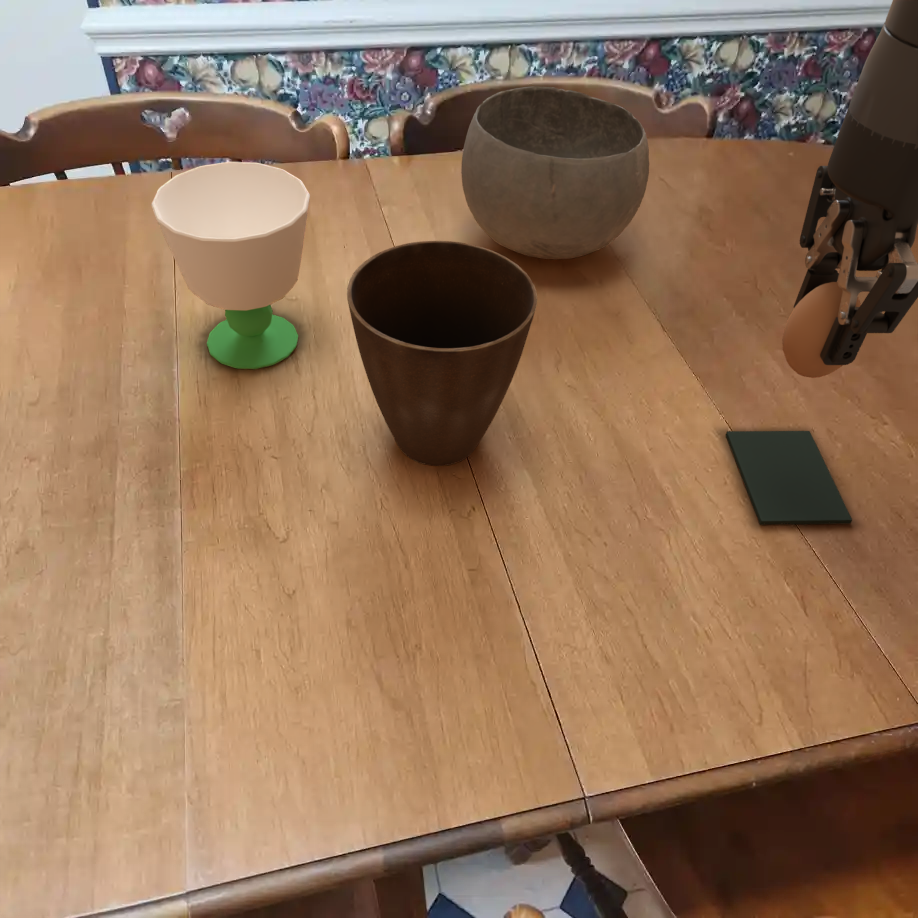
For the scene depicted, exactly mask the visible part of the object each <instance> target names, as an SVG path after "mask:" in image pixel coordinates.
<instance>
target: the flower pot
mask: <svg viewBox="0 0 918 918" xmlns="http://www.w3.org/2000/svg"><path fill="white" fill-rule="evenodd" d="M346 299H347V305H348V309H349V314H350V318H351V322H352V327H353V332H354V336H355V340H356V344H357V347H358V352H359V355H360V358H361V362H362V365H363V369H364V372H365V375H366V379H367V380H368V383H369V386H370V388H371V391H372V394H373V396H374V399H375V401H376V404H377V406H378V408H379V411H380V414H381V416H382V418H383V419H384V422H385V424H386V425H387V428H388V430H389V431H390V433H391V435H392V437H393V439H394V441H395V443H396V445H397V446H398V448H399V449H400V451H401V452H402V453H403V454H404V455H405V456H406V457H408V458H409V459H411V460H413V461H415V462H417V463H420V464H423V465H427V466H432V467H433V466H435V467H442V466H443V467H444V466H450V465H453V464H457V463H459V462H462V461H464V460H465V459H466V458H468V457H469V456H471V454H473V452H474V451H475V449H476V448H477V447H478V445H479V443H480V442H481V440H482V439H483V437H484V436H485V434H486V433H487V431H488V429H489V428H490V426H491V424H492V422H493V421H494V418H495V416H496V415H497V413H498V411H499V409H500V407H501V405H502V403H503V401H504V399H505V397H506V394H507V392H508V390H509V388H510V385H511V383H512V381H513V378H514V376H515V374H516V371H517V368H518V366H519V364H520V361H521V357H522V355H523V352H524V349H525V346H526V343H527V339H528V336H529V333H530V329H531V326H532V323H533V319H534V316H535V312H536V309H537V306H538V305H537V304H538V294H537V290H536V287H535V284H534V281H532V278H531V277H530V276H529V275H528V273H527V272H526V271H525V270H524V268H522V267H521V266H519V265H518V264H517V263H516V262H514V261H513V260H511V259H510V258H508V257H506V256H505V255H503V254H501V253H498V252H496V251H494V250H492V249H489V248H485V247H483V246H479V245H475V244H471V243H466V242H461V241H452V240H451V241H450V240H423V241H413V242H407V243H403V244H399V245H395V246H392V247H389V248H387V249H384V250H382V251H379V252H377V253H375V254H374V255H371V256H370V257H369V258H368V259H366V260H364V261H363V262H362V263H361V264H360V265H359V266H357V268H356V269H355V270H354V271H353V273H352V274H351V276H350V279H349V281H348V284H347V288H346Z"/></svg>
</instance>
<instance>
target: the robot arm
mask: <svg viewBox="0 0 918 918" xmlns="http://www.w3.org/2000/svg"><path fill="white" fill-rule="evenodd" d="M811 189H812V190H811V193H810V197H809V201H808V205H807V209H806V212H805V217H804V221H803V225H802V229H801V233H800V236H799V245H800V248H801V249H807V253H806V255H805V258H804V265H805V268H806V269H807V270H806V273H805V276H804V278H803V280H802V284H801V286H800V289H799V291H798V294H797V296H796V299H795V302H794V304H793V309H794V308H795V306H796V305H797V304H798V303H799V302H800V301H801V300H802V299H803V298H804V297H805V296H806V295H807V294H808V293H809V292H811V291H812V290H813V289H815V288H816V287H818V286H820V285H823V284H826V283H830V282H837V283H838V286H839V287H840V288H842V290H843V292H842V297H841V302H840V307H839V312H838V317H836V319H835V321H834V323H833V326H832V328H831V330H830V333H829V335H828V337H827V340H826V342H825V344H824V347H823V349H822V351H821V354H820V357H821V359H822V361H823V363H824V364H825V365H842V366H847V365H850V364H852V363H853V362H854V361H855V360H856V358H857V357H858V353H859V352H860V350H861V347H862V346H863V343H864V341H865V339H866V337H867V334H892V333H893V332H894V331H895V330H896V329H897V327H898V326H899V325H900V323H901V322H902V320H903V319H904V317H905V316H906V314H907V313H908V312H909V311H910V309H911V308H912V306H913V305H914V304H915V303H916V301H917V300H918V262H917V260H916V258H915V256H914V253H913V250H912V247H913V245H914V243H915V240H916V235H917V228H918V0H892V1H891V4H890V7H889V9H888V13H887V14H886V18H885V21H884V23H883V25H882V27H881V29H880V32H879V34H878V36H877V38H876V40H875V42H874V44H873V46H872V48H871V49H870V51H869V53H868V55H867V57H866V60H865V62H864V64H863V67H862V70H861V72H860V75H859V77H858V81H857V83H856V86H855V89H854V91H853V94H852V96H851V99H850V102H849V104H848V107H847V111H846V113H845V116H844V118H843V120H842V124H841V126H840V129H839V132H838V135H837V137H836V140H835V143H834V146H833V148H832V151H831V153H830V157H829V159H828V162H827V165H819V167H818V168H817V169H816V173H815V176H814V181H813V185H812V188H811ZM821 218H824V219H823V221H822V222H821V224H820V225H819V226H818V223H819V220H821ZM817 227H818V228H817ZM838 270H839V271H838ZM857 271H858V272H876V275H875V276H856V273H857ZM862 292H865V293H866V292H868V293H867V295H866V297H865V298H864V299H863V300H862V302H861V306H860V307H855V306H856V301H857V296H858V297H859V294H861V293H862Z"/></svg>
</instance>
